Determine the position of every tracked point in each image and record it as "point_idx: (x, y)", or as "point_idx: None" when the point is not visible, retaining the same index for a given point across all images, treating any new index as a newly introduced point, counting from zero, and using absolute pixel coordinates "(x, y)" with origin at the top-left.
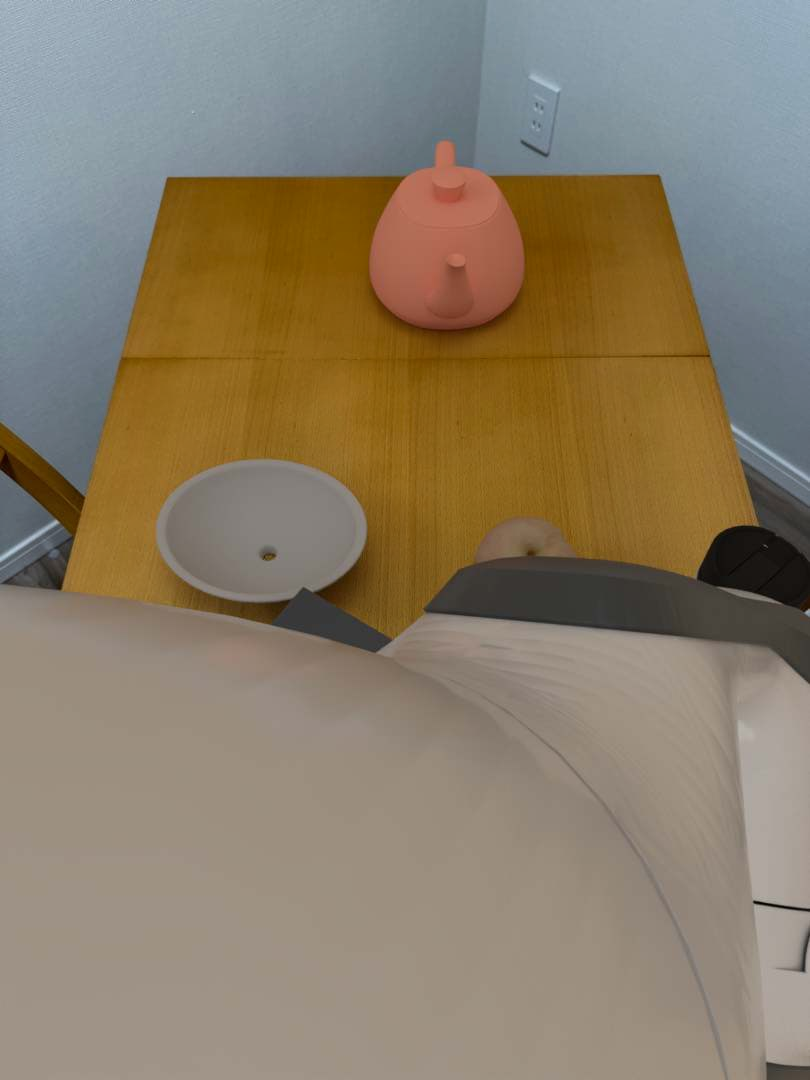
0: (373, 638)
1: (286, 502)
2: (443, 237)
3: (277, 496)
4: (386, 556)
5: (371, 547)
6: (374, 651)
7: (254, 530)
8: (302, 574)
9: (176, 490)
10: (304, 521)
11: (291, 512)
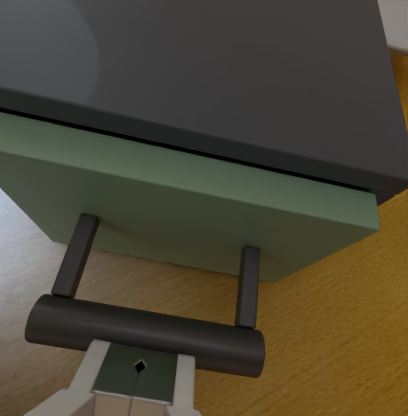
0: (365, 8)
1: (393, 13)
2: None
3: (393, 4)
4: (404, 114)
5: (402, 100)
6: (347, 12)
7: None
8: None
9: None
10: (387, 33)
11: (387, 22)
